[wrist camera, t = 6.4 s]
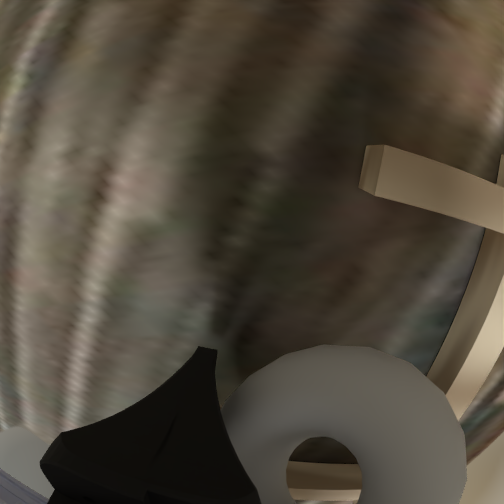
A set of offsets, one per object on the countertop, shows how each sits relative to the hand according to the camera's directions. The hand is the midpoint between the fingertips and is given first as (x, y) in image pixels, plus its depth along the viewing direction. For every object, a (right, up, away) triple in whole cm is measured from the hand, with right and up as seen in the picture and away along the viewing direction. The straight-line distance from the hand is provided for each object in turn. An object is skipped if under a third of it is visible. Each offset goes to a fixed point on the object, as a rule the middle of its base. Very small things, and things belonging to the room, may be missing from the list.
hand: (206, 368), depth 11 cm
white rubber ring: (+2, 0, +1) cm, 2 cm away
